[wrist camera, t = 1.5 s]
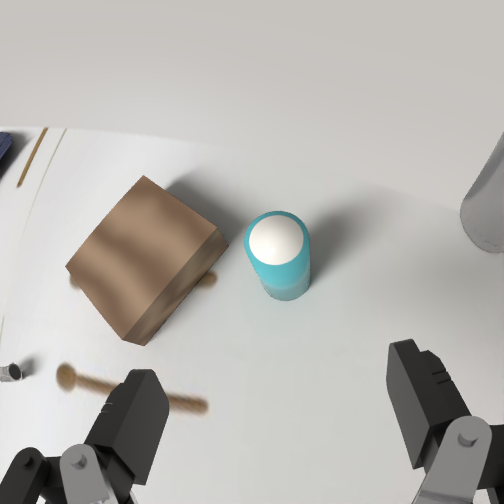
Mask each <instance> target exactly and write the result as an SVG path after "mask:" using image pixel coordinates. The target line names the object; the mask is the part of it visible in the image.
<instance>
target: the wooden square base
mask: <svg viewBox="0 0 504 504" xmlns="http://www.w3.org/2000/svg"><path fill="white" fill-rule="evenodd" d="M227 247H228V244H227V243H226V241H225V240H224V238H223V236H222V235H221V233H220V231H219V230H218V228H217V227H216V226H215V225H213V224H212V223H210V222H209V221H208V220H206V219H205V218H203V217H202V216H200V215H199V214H198V213H196V212H195V211H193V210H192V209H191V208H189V207H188V206H186V205H185V204H184V203H182V202H181V201H179V200H178V199H176V198H175V197H174V196H172V195H171V194H169V193H168V192H167V191H165V190H164V189H162V188H161V187H160V186H158V185H157V184H155V183H154V182H152V181H151V180H150V179H148V178H147V177H145V176H144V175H143V176H142V177H141V178H140V179H139V180H138V181H137V182H136V184H135V185H134V186H133V187H132V188H131V189H130V190H129V191H128V192H127V193H126V194H125V195H124V196H123V198H122V199H121V200H120V201H119V202H118V203H117V204H116V205H115V206H114V208H113V209H112V210H111V211H110V212H109V213H108V214H107V216H106V217H105V218H104V219H103V220H102V221H101V223H100V224H99V225H98V226H97V227H96V228H95V230H94V231H93V232H92V233H91V234H90V236H89V237H88V238H87V239H86V240H85V242H84V243H83V244H82V245H81V247H80V248H79V249H78V250H77V252H76V253H75V254H74V256H73V257H72V258H71V259H70V261H69V262H68V263H67V265H66V266H65V267H66V268H67V270H68V271H69V273H70V274H71V275H72V277H73V278H74V280H75V281H76V282H77V284H78V285H79V286H80V288H81V289H82V290H83V292H84V293H85V294H86V296H87V297H88V298H89V300H90V301H91V302H92V304H93V305H94V306H95V308H96V309H97V310H98V311H99V313H100V314H101V315H102V316H103V318H104V319H105V320H106V321H107V323H108V324H109V325H110V326H111V327H112V329H113V330H114V331H115V332H116V333H117V335H118V336H119V337H120V338H121V339H122V340H124V341H127V342H131V343H134V344H138V345H141V346H145V345H146V343H147V342H148V341H149V340H150V339H151V337H152V336H153V335H154V334H155V333H156V331H157V330H158V329H159V328H160V327H161V325H162V324H163V323H164V322H165V321H166V319H167V318H168V317H169V316H170V315H171V313H172V312H173V311H174V310H175V309H176V307H177V306H178V305H179V304H180V303H181V301H182V300H183V299H184V298H185V297H186V296H187V294H188V293H189V292H190V291H191V290H192V288H193V287H194V286H195V285H196V284H197V283H198V281H199V280H200V279H201V278H202V277H203V275H204V274H205V273H206V272H207V271H208V270H209V268H210V267H211V266H212V265H213V264H214V263H215V261H216V260H217V259H218V258H219V257H220V256H221V254H222V253H223V252H224V251H225V250H226V249H227Z"/></svg>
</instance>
